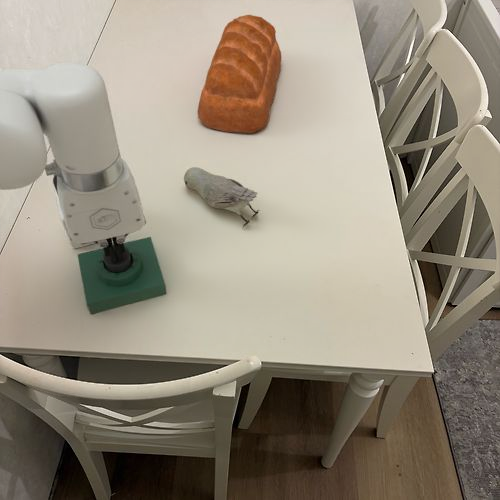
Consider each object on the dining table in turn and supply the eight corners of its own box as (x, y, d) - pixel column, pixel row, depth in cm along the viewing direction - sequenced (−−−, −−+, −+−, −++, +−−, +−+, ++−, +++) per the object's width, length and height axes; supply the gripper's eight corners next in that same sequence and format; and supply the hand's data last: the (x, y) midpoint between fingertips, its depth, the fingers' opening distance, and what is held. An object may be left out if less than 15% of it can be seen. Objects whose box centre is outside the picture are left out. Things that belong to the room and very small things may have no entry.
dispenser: (90, 314, 75) (83, 297, 71) (81, 264, 81) (74, 246, 77) (166, 294, 78) (163, 276, 74) (152, 247, 84) (149, 228, 80)
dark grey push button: (108, 276, 74) (105, 268, 73) (103, 256, 76) (101, 248, 75) (134, 269, 75) (132, 261, 73) (128, 250, 77) (126, 242, 76)
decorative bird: (195, 178, 94) (193, 148, 88) (263, 216, 89) (266, 187, 83) (177, 194, 92) (174, 164, 86) (246, 234, 86) (248, 205, 80)
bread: (283, 59, 122) (289, 7, 112) (264, 138, 103) (269, 83, 92) (222, 51, 123) (222, -2, 113) (193, 128, 104) (189, 72, 93)
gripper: (29, 199, 56) (69, 287, 70) (157, 172, 59) (170, 261, 74) (24, 157, 60) (62, 248, 74) (144, 135, 64) (158, 226, 78)
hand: (116, 255), depth 74 cm, fingers closed
